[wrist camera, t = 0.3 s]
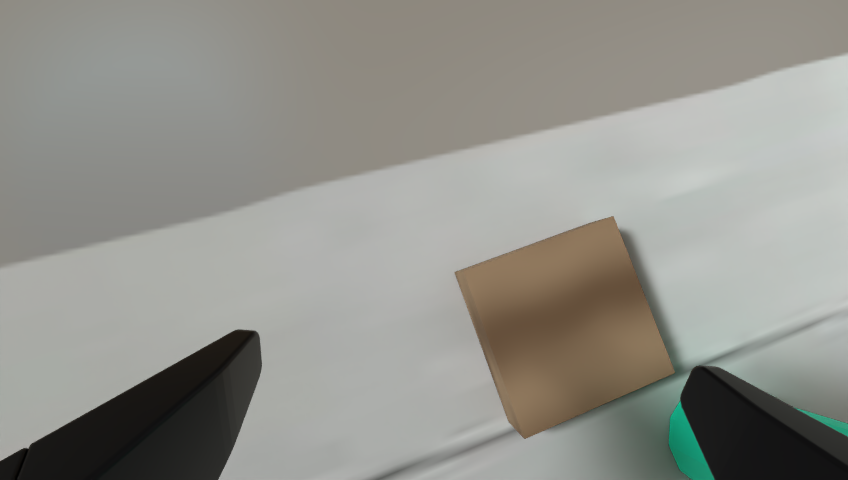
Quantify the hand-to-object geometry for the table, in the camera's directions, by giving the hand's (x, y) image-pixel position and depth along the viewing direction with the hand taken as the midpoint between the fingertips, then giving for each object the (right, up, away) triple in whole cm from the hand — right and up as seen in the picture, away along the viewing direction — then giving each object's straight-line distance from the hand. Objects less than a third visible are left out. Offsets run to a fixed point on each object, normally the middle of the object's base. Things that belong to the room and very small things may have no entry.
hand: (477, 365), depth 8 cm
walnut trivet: (+6, -2, +15) cm, 17 cm away
